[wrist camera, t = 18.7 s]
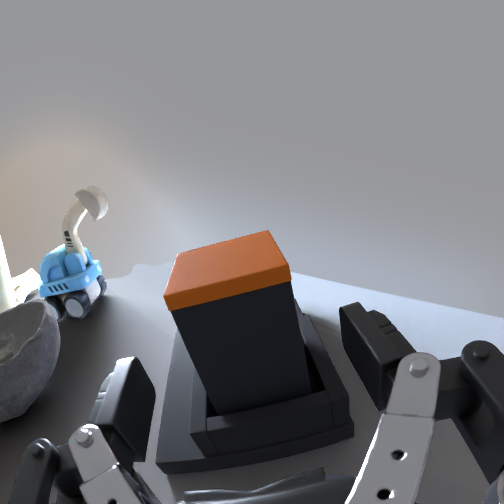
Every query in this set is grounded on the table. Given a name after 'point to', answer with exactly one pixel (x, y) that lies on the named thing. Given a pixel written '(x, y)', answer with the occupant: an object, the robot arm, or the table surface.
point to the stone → (24, 285)
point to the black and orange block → (240, 322)
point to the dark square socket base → (249, 416)
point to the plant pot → (5, 284)
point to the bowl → (26, 355)
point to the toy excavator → (74, 261)
